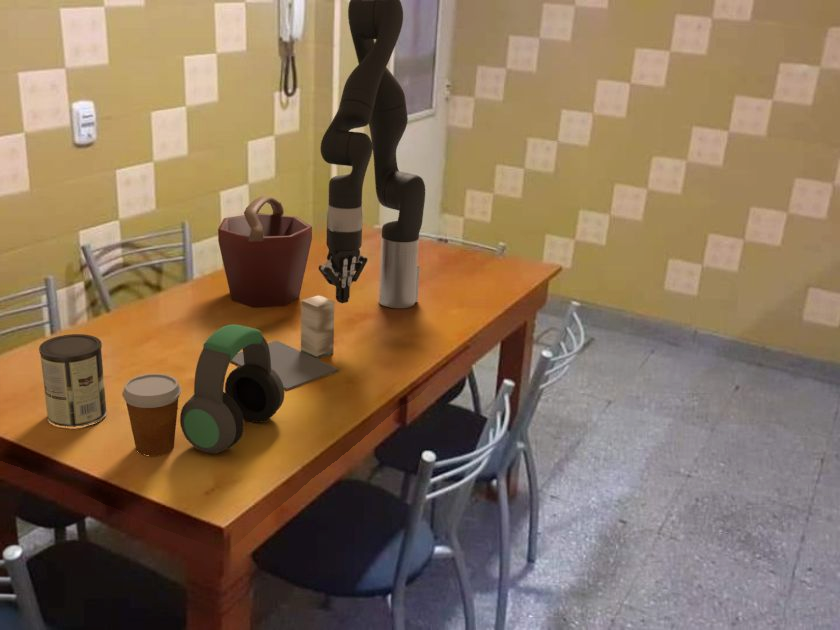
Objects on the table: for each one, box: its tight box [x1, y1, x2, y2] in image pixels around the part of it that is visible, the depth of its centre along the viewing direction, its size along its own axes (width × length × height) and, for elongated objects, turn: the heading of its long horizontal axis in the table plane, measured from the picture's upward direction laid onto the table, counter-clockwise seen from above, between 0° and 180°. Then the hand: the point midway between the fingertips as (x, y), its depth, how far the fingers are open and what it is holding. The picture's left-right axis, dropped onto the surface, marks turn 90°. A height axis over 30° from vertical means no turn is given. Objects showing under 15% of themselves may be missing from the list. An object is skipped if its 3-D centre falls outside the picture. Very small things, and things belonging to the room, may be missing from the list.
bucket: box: [217, 196, 313, 309], centre depth 221 cm, size 24×22×25 cm
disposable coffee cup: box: [121, 373, 182, 457], centre depth 151 cm, size 10×10×12 cm
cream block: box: [300, 295, 336, 360], centre depth 192 cm, size 5×5×12 cm
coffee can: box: [38, 333, 108, 427], centre depth 160 cm, size 10×10×14 cm
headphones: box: [179, 323, 285, 454], centre depth 156 cm, size 19×11×20 cm, turn 156°
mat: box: [230, 340, 339, 391], centre depth 187 cm, size 14×20×1 cm
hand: (342, 301), depth 196 cm, fingers closed
